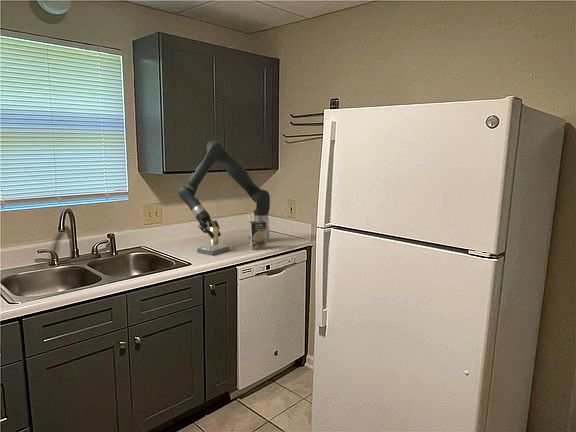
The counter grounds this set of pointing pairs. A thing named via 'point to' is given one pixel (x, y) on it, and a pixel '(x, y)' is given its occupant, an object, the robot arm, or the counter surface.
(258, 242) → the coffee box
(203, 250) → the kitchen scale
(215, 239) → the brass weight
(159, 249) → the counter surface
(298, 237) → the counter surface
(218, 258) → the counter surface
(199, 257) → the counter surface
